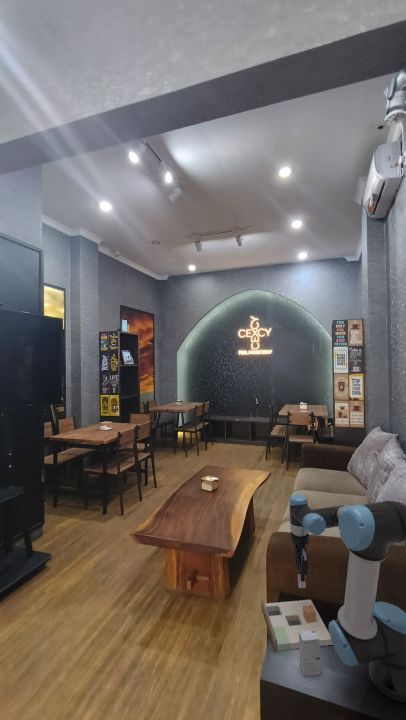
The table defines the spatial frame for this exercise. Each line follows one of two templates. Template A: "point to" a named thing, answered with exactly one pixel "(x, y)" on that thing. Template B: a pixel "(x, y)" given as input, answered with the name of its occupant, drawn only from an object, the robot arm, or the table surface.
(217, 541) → the table surface
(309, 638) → the skincare box
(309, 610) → the block
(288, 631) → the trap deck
